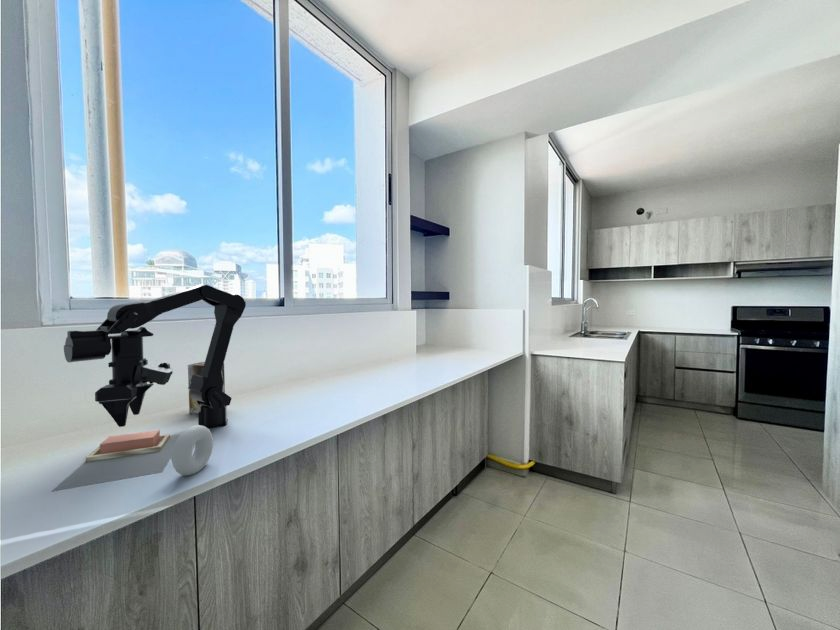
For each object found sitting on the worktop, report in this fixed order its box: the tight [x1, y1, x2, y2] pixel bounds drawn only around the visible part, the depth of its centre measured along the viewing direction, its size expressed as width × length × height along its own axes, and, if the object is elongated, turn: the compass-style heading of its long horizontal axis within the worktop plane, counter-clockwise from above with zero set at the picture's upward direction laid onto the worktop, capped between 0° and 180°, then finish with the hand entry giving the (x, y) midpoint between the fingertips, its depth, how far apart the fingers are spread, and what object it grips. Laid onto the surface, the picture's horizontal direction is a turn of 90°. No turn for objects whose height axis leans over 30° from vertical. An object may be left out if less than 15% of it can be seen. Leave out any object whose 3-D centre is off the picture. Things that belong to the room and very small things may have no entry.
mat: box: [51, 433, 182, 492], centre depth 77 cm, size 17×23×1 cm
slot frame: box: [85, 433, 171, 462], centre depth 81 cm, size 14×9×1 cm, turn 115°
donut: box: [171, 424, 214, 476], centre depth 71 cm, size 10×4×10 cm, turn 178°
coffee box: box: [187, 361, 226, 414], centre depth 112 cm, size 9×6×16 cm
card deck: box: [99, 429, 161, 454], centre depth 81 cm, size 5×10×3 cm, turn 114°
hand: (129, 420), depth 81 cm, fingers open, 9 cm apart
